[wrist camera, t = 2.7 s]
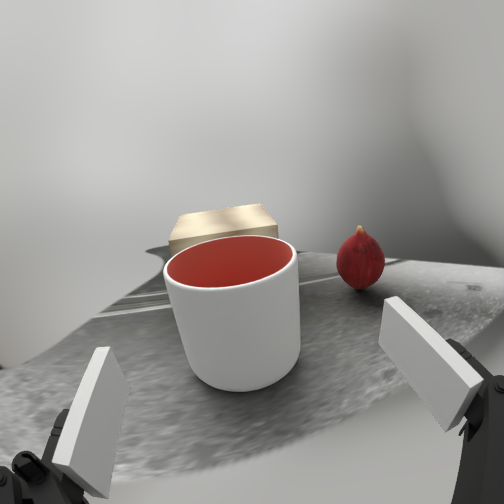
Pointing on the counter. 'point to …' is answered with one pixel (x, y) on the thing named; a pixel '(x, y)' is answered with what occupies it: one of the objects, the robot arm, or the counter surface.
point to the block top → (221, 226)
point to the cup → (237, 310)
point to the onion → (360, 260)
